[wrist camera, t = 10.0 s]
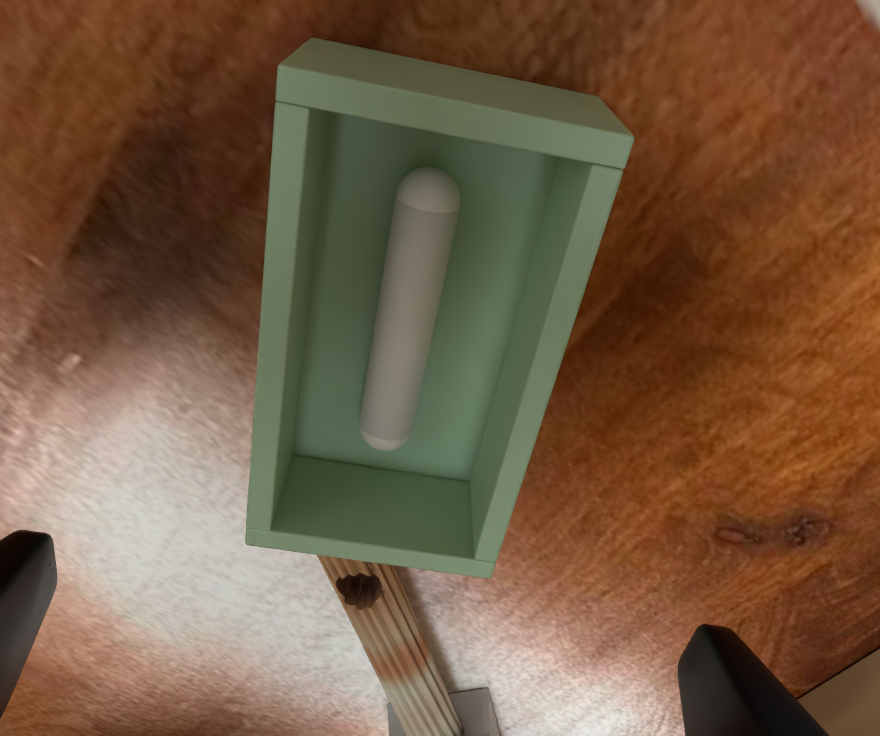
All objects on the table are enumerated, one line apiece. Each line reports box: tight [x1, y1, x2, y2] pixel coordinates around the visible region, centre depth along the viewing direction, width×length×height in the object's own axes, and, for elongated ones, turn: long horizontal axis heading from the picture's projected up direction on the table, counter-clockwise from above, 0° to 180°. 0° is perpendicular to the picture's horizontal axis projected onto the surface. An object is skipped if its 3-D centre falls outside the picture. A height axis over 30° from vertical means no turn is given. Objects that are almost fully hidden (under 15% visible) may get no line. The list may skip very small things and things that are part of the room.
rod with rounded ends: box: [359, 166, 461, 451], centre depth 17 cm, size 7×1×1 cm, turn 169°
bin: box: [245, 38, 635, 579], centre depth 17 cm, size 11×6×4 cm, turn 169°
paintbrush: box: [317, 555, 500, 736], centre depth 25 cm, size 4×3×20 cm
